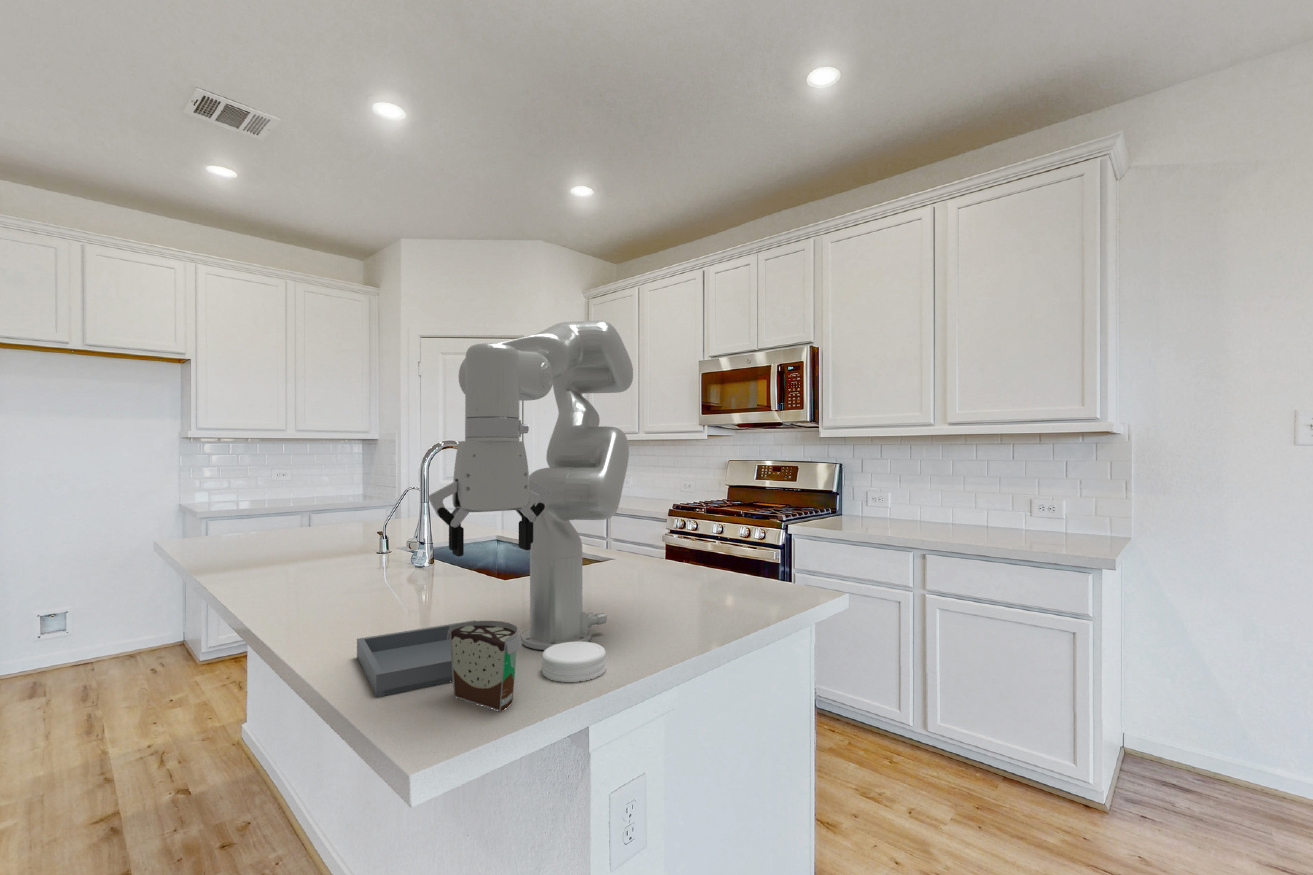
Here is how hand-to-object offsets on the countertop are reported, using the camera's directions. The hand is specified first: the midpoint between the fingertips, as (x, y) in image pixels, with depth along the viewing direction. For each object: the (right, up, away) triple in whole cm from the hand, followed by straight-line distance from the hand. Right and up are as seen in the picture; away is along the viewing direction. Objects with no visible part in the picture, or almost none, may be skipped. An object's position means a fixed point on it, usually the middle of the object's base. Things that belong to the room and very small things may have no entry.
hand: (492, 551), depth 89 cm
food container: (0, -21, 0) cm, 21 cm away
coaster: (+10, -21, +10) cm, 26 cm away
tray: (-14, -21, +14) cm, 28 cm away
